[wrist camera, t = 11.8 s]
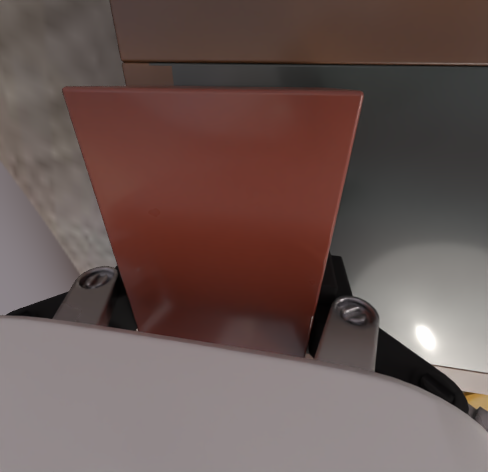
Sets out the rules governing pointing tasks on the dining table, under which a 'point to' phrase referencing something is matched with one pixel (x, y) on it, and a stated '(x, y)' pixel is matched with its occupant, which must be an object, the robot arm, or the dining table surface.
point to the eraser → (219, 203)
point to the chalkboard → (367, 139)
